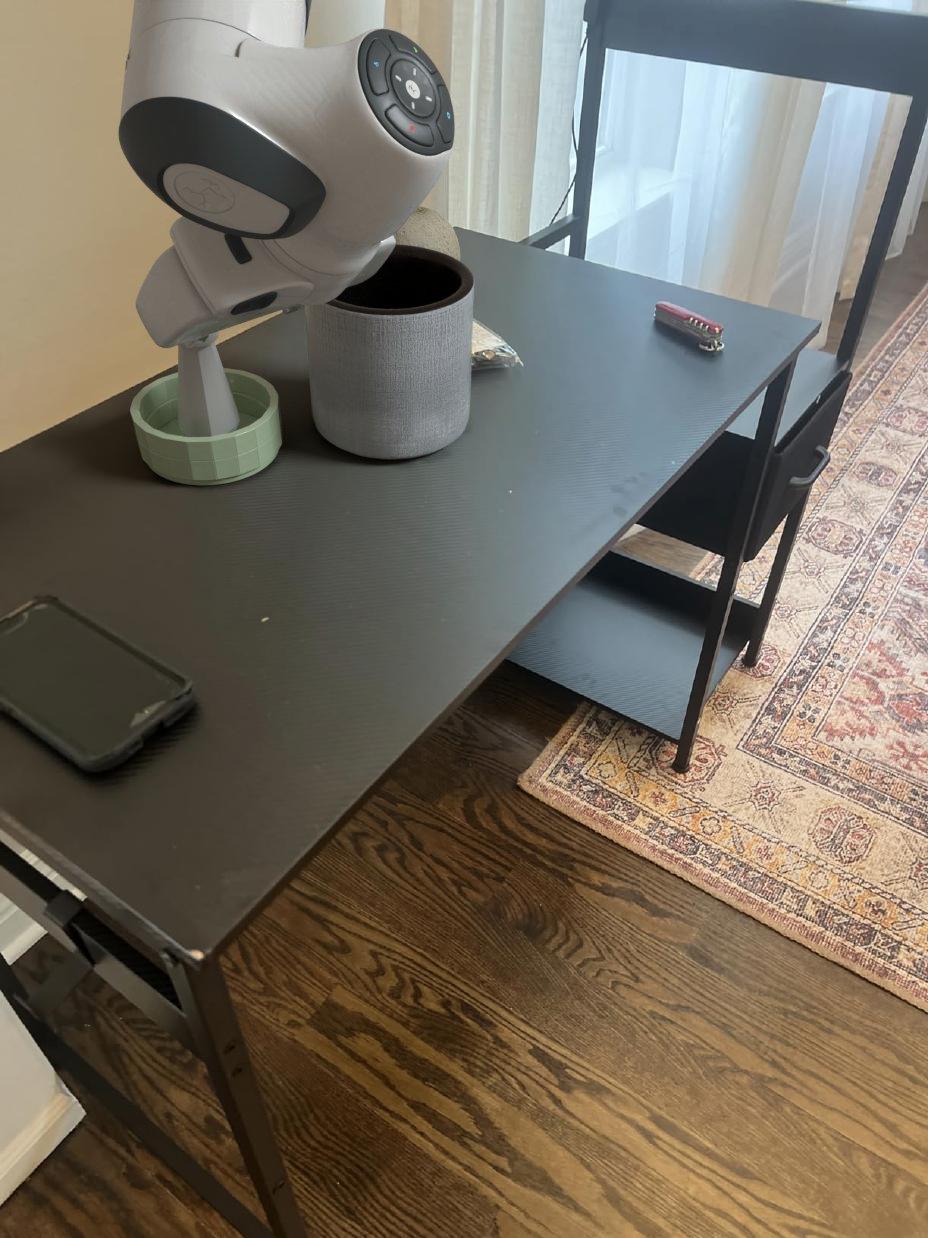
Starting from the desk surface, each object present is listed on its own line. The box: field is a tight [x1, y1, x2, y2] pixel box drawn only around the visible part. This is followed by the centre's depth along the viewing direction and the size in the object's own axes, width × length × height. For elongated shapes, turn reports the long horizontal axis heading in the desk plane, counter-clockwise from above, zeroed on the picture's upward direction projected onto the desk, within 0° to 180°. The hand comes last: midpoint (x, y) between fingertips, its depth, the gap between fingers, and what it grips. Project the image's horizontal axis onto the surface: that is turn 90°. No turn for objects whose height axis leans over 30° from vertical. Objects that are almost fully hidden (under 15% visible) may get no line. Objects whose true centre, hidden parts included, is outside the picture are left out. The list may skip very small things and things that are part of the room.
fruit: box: [393, 205, 461, 262], centre depth 112 cm, size 10×12×15 cm
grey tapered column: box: [177, 331, 240, 437], centre depth 86 cm, size 6×6×13 cm
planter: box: [303, 244, 475, 461], centre depth 90 cm, size 16×16×16 cm
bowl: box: [129, 367, 284, 486], centre depth 90 cm, size 14×14×5 cm
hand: (239, 319), depth 76 cm, fingers open, 8 cm apart
